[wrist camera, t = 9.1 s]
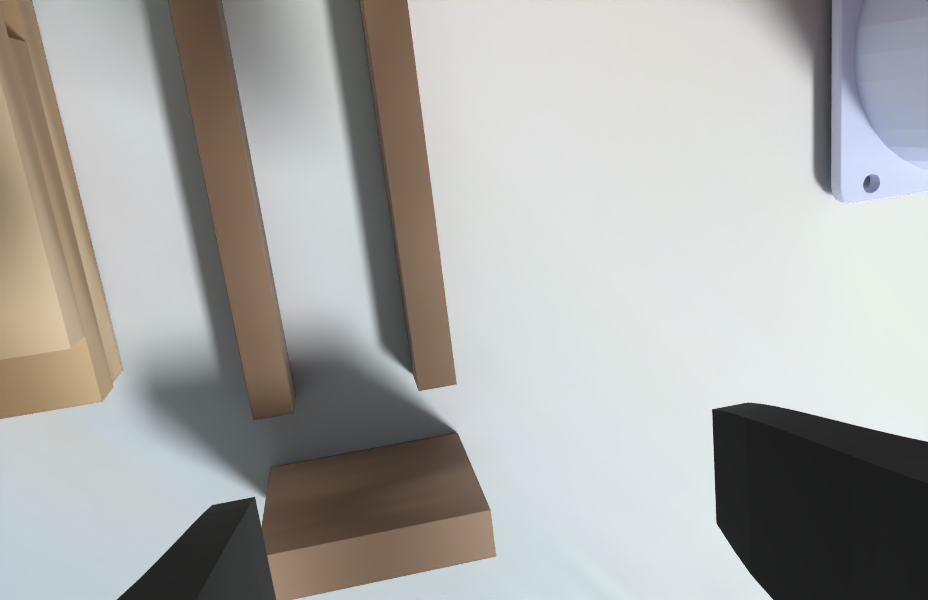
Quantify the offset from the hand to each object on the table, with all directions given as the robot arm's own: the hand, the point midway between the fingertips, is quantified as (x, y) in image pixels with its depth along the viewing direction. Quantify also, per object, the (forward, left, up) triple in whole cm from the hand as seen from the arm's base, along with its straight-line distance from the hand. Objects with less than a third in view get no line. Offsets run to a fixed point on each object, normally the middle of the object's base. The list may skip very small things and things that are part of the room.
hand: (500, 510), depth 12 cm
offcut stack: (+9, -5, -9) cm, 14 cm away
